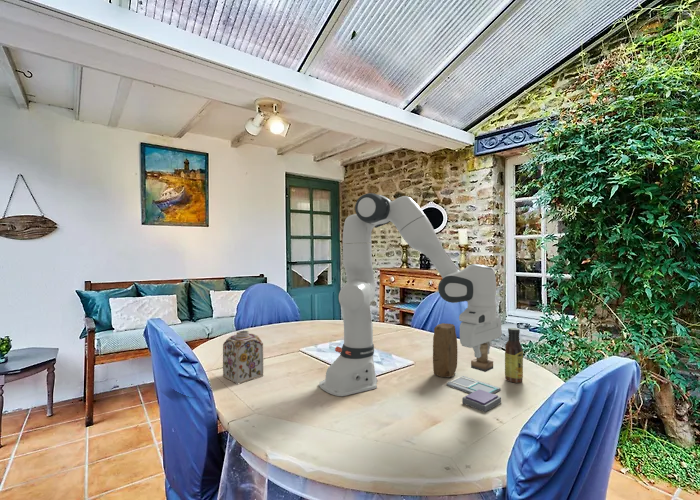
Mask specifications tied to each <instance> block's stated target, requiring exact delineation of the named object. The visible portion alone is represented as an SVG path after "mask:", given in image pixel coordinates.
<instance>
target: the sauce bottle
mask: <svg viewBox="0 0 700 500" xmlns="http://www.w3.org/2000/svg"><path fill="white" fill-rule="evenodd" d="M507 333H508V338H507V339H508V340H507V342H506V343H505V346H504V347H505V348H504V349H505V351H504V378H505V380H506V382H507V381H508V382H510V383H513V384H514V383H515V384H519V383H522V382H523V377H524V348H523V347H522V344H521V341H520V333H521V329H520V328H517V327H508V328H507Z"/></svg>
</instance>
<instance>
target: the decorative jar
mask: <svg viewBox="0 0 700 500" xmlns="http://www.w3.org/2000/svg"><path fill="white" fill-rule="evenodd" d="M222 376H224V377H223V378H225V379H227V380H229V381H230V380H231V382H233V383H234V382H235V384H236V383H237V384H236V385H239V384H238V383H240V384H243V383H246V382H249V381H252V380H251V379H253V380H255V379H254V378H256V379H257V377H259V378H261V376H262V377H264V343H263V341H262V340H261V338H260V336H259V335H257V334H254V333H250V332H249V331H248V330H239V331H238V330H237V331H236V334H233V335H231V336H229V337H228V338H227V339H226V340H225V341H224V342H223V344H222ZM248 380H249V381H248ZM245 381H246V382H245ZM242 382H243V383H242Z"/></svg>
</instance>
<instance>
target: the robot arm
mask: <svg viewBox="0 0 700 500" xmlns="http://www.w3.org/2000/svg"><path fill="white" fill-rule="evenodd" d="M354 208H355V209H354V210H355V213H354V214H350V215H348V216H347V217H346V218H345V220H344V224H343V230H342V231H343V232H342V265H343V268H344V271H345V277H346V283H345V284H344V285H343V286H342V287H341V289H340V290H339V293H338V302H339V305H340V310H341V314H342V321H343V322H342V323H343V344H342V346H341V347H340V346H338V345H337V346H336V347H335V348H334V350H335V352H337V353H339V354H340V355H338V357H337V358H336V359H334V361H333V362H332V363H331V365H329V366H328V367H327V369H326V371H325V372H326V373H325V379H324V380H321V381H319V388H320V390H321V389H322V390H323V391H324V392H325V393H328V394H331V395H333V396H336V397H345V396H350V395H353V394H359V393H363V392H366V391H371V390H374V389H377V388H378V385H377V383H378V379H377V375H376V370H375V369H376V368H375V362H374V355H375V344H374V341H373V340H374V339H373V338H374V335H373V334H374V332H373V331H374V330H373V326H374V325H373V324H374V323H373V322H372V321H373V320H372V314H371V303H372V302H373V300H374V299H375V296H376V286H375V285H376V283H375V276H374V268H373V258H372V257H373V255H372V254H373V252H372V251H373V250H372V248H373V247H372V231H373V229H374V228H379V227H381V226H382V227H383V226H385V225H387V224H389V223H392V224H393V225H394V226H395V228H396V230H397V231H398V233H399V234H400V236H401V238H402V239H403V240H404V241H405V243H407V245H408V246H409V247H410V248H411V249H414V251H415V250H416V251H418V252H419V253H422V254H423V255H424V256H426V257H427V258H428V259H429V261H430V262H431V263H432V264H433V266H434V267H435V269H436V270H437V272H438V273H439V275H440V276H441V278H442V279H441V280H440V281H439V283H438V287H437V289H438V290H437V291H438V293H439V296H440V297H441V298H442V299H443V300H444V301H446V302H448V303H452V304H457V303H462V302H467V307H466V309H465V310H464V311H462V312H461V313H460V314H459V316H458V320H459V322H461V323H460V325H459V343H460V345H461V346H462V347H466V348H469V349H472V350H473V353H474V354H473V355H474V357H475V359H477V358H480V357H482V352H480V345H481V344H483V343H486V344H488V355H489V354H490V349H491V346H492V341H494V340H497V339H501V337H502V321H501V317H500V316H499V313H498V312H497V302H496V295H497V279H496V273H495V270H494V269H493V268H492V267H490V266H487V265H485V264H478V263H472V264H469V265H468V266H467V267H465V268H463V269H460V268H458V267H457V265H456V264H455V263H454V262H453V260H452V258H451V257H450V256H449V255H448V253H447V251H446V249H444V247H443V245H442V243H441V242H440V239H439V237H438V235H437V233H436V231H435V229H434V226H433V225H432V223H431V222H430V220H429V218H428V217H427V215H426V214H425V213H424V211H423V209H422V208H421V207H420V206H419V204H418V203H416V201H415V200H413V199H412V198H411V197H410V196H407V195H403V196H400V197H396V198H395V199H394V200H392V199H390V198H388V197H386V196H385V195H383V194H382V195H381V194H377V193H375V192H370V193H365V194H362V195H361V196H359V198H358V199H357V200H356V203H355V206H354Z"/></svg>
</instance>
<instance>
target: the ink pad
mask: <svg viewBox="0 0 700 500" xmlns="http://www.w3.org/2000/svg"><path fill="white" fill-rule="evenodd" d="M501 403H502V396H499V395H498V394H495V393H494V394H492V393H489V392H486V391H483V390H480V389H479V390H477V391H475V392H473V393H471V394H470V393H468V394H467V395H465V396H463V397H462V404H463V405H467V406H469V407H472V408H474V409H477V410H479V411H481V412H485V413H486V412H488V411H490V410H491V409H493V408H495V407H496V406H498V405H499V404H501Z"/></svg>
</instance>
